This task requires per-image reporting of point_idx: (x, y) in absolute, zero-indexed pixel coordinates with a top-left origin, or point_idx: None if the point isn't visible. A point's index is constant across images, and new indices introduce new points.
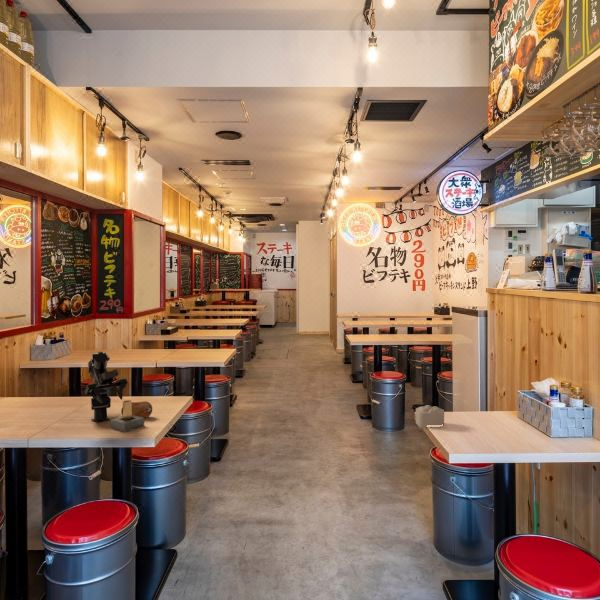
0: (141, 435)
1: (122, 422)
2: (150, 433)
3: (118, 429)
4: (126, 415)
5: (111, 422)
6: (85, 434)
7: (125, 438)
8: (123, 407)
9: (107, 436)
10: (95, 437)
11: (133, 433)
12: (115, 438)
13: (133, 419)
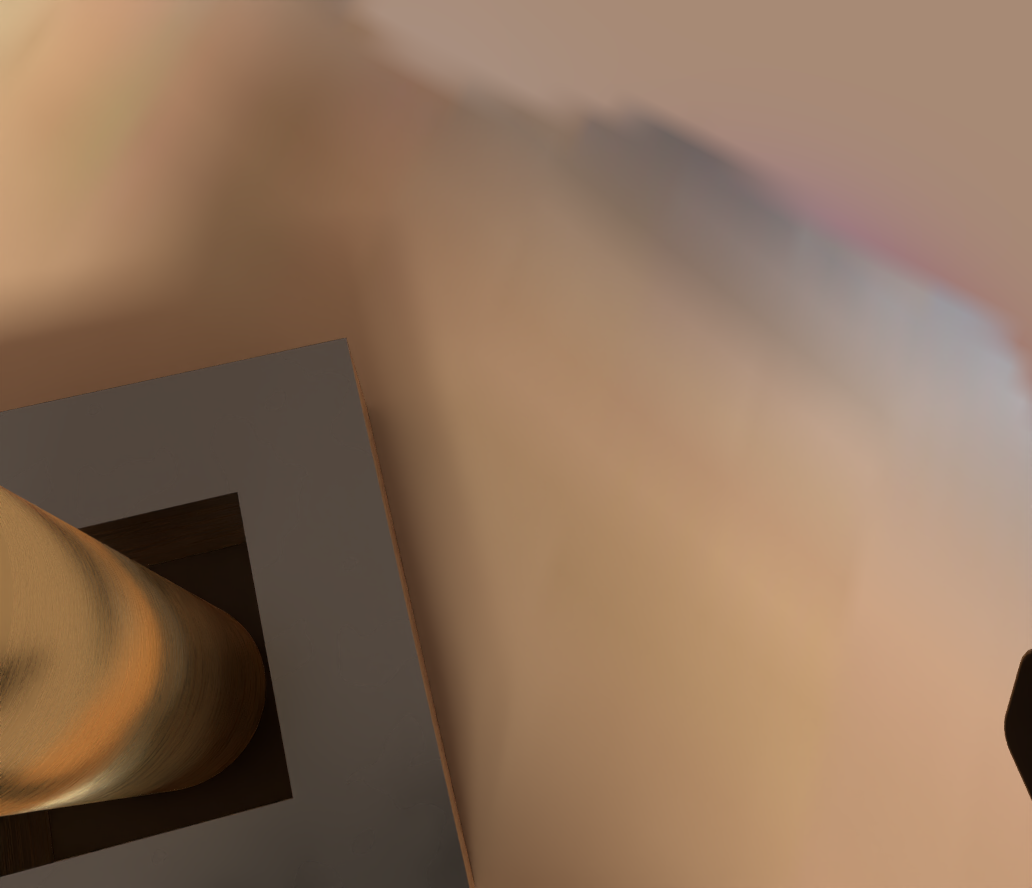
0: (228, 58)
1: (345, 450)
2: (66, 51)
3: (409, 600)
4: (139, 566)
5: (468, 874)
6: (1026, 796)
7: (491, 93)
8: (102, 616)
9: (700, 382)
10: (892, 472)
11: (278, 234)
12: (621, 195)
13: None
